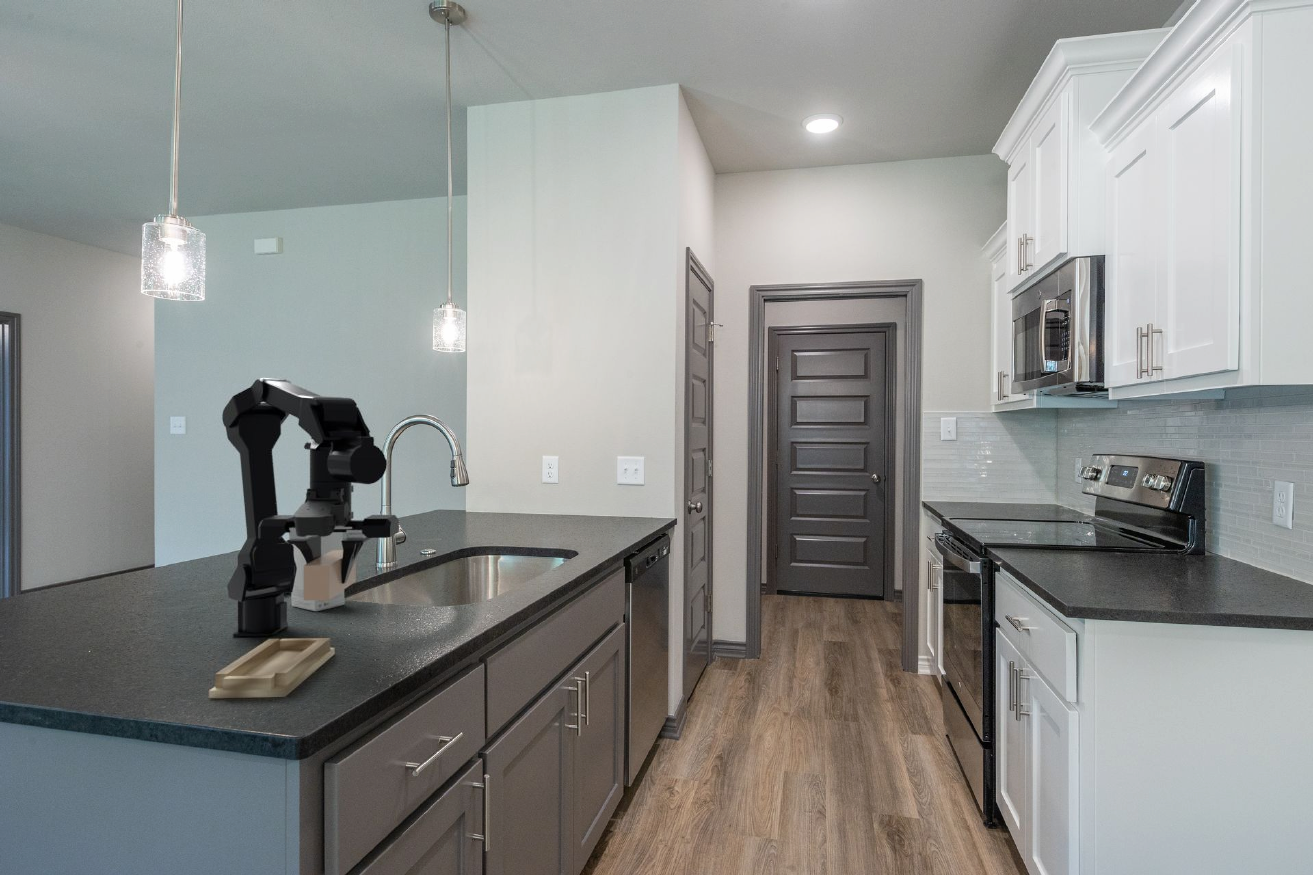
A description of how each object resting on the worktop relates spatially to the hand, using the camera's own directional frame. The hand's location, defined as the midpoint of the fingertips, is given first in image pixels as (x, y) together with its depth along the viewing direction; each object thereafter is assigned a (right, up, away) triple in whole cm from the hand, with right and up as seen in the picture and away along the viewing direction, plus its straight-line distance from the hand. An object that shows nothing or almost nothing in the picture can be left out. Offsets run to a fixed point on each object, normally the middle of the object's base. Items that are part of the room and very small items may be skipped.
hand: (330, 583), depth 107 cm
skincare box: (-17, -11, +30) cm, 36 cm away
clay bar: (0, -1, 0) cm, 1 cm away
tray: (-5, -12, -7) cm, 14 cm away
